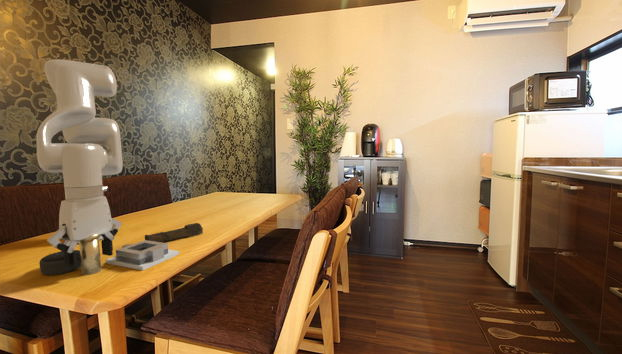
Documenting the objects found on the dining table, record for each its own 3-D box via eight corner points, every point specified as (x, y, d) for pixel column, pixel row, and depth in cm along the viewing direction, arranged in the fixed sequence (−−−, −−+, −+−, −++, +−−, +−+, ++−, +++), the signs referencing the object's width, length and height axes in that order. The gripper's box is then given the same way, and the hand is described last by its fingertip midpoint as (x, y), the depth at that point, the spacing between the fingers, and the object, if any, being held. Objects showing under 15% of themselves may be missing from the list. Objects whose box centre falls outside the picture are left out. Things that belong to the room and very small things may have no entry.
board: (106, 263, 79) (106, 259, 79) (145, 248, 91) (144, 245, 91) (142, 270, 74) (142, 266, 74) (179, 254, 86) (178, 251, 85)
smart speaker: (70, 261, 82) (69, 247, 81) (92, 264, 79) (91, 250, 79) (32, 274, 73) (30, 259, 73) (55, 278, 71) (53, 263, 70)
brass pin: (75, 274, 73) (71, 235, 72) (95, 266, 77) (92, 230, 76) (87, 276, 71) (84, 237, 70) (107, 269, 75) (104, 232, 74)
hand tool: (147, 248, 92) (146, 234, 91) (144, 245, 95) (143, 231, 94) (205, 235, 105) (205, 223, 104) (201, 233, 108) (200, 221, 107)
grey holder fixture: (107, 259, 80) (107, 248, 80) (137, 248, 88) (136, 238, 88) (144, 265, 75) (143, 254, 75) (172, 254, 83) (171, 243, 83)
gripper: (109, 188, 81) (114, 247, 83) (32, 198, 65) (40, 272, 67) (128, 189, 79) (132, 251, 81) (52, 199, 63) (60, 277, 64)
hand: (90, 260), depth 74 cm, fingers open, 7 cm apart
